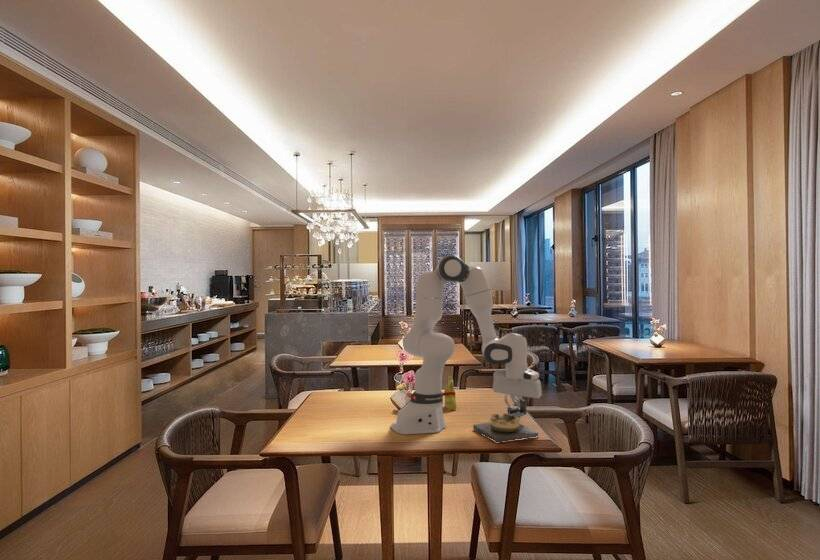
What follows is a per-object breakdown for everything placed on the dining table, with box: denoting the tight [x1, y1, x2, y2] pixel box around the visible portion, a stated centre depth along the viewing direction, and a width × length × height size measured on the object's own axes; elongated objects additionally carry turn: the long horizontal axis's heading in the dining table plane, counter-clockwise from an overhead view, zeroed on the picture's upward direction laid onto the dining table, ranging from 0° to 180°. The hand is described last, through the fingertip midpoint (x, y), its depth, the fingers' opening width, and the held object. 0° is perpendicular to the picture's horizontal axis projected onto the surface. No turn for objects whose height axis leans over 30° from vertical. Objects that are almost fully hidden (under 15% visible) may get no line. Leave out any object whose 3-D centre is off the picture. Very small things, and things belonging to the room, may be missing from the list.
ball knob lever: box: [490, 399, 528, 432], centre depth 189 cm, size 19×11×9 cm, turn 131°
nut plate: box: [472, 421, 539, 442], centre depth 186 cm, size 18×18×2 cm
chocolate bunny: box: [443, 375, 457, 411], centre depth 224 cm, size 7×11×15 cm, turn 8°
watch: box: [504, 394, 524, 414], centre depth 211 cm, size 6×8×11 cm
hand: (516, 405), depth 196 cm, fingers closed
